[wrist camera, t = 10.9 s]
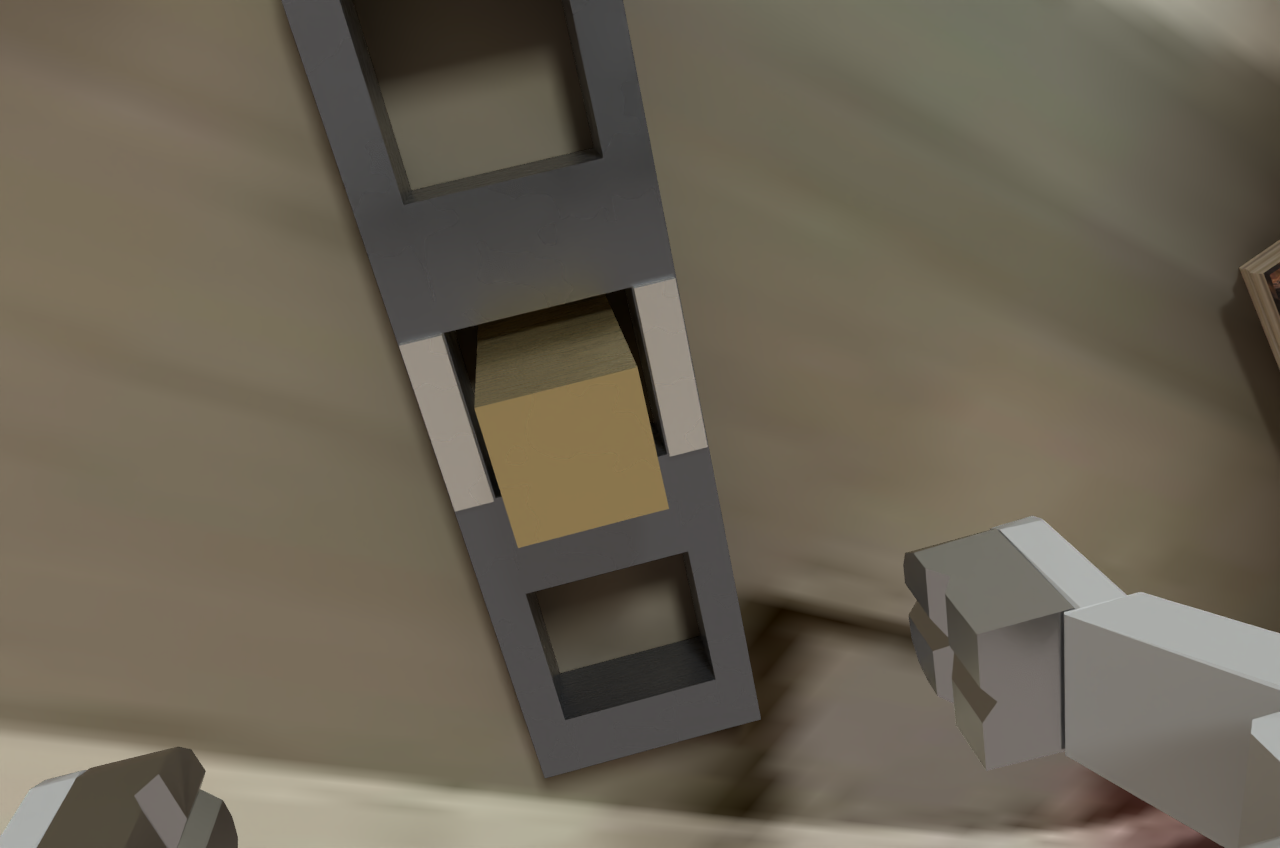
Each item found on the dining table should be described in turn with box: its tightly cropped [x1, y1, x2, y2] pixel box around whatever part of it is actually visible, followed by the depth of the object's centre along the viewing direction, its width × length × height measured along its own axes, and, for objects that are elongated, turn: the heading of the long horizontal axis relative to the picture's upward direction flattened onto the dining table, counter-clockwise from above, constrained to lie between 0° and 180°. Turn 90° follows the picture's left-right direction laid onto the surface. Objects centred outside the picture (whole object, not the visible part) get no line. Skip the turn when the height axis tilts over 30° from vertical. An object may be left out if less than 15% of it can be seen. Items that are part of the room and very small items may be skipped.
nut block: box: [474, 294, 669, 548], centre depth 25 cm, size 4×4×7 cm
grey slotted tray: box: [282, 0, 761, 778], centre depth 27 cm, size 8×28×3 cm, turn 12°
